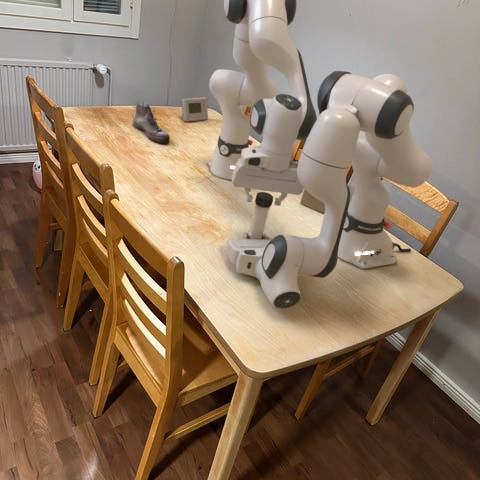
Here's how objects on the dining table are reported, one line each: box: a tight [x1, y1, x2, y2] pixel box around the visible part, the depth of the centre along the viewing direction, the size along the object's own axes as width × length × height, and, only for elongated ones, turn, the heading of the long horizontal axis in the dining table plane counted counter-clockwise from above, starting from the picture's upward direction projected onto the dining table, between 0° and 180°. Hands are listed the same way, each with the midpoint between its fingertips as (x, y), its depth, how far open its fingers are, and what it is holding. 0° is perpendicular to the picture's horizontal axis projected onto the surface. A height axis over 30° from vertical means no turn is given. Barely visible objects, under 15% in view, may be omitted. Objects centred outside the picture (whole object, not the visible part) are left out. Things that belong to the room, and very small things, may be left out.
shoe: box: [132, 101, 171, 145], centre depth 195 cm, size 25×11×12 cm, turn 30°
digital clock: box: [181, 96, 209, 123], centre depth 223 cm, size 16×9×11 cm, turn 123°
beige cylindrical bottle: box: [247, 202, 271, 240], centre depth 130 cm, size 4×4×18 cm
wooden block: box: [300, 189, 325, 214], centre depth 165 cm, size 10×10×20 cm
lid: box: [254, 191, 274, 208], centre depth 125 cm, size 5×5×2 cm
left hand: (262, 203), depth 126 cm, fingers open, 7 cm apart
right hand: (253, 235), depth 132 cm, fingers closed on beige cylindrical bottle, 4 cm apart
